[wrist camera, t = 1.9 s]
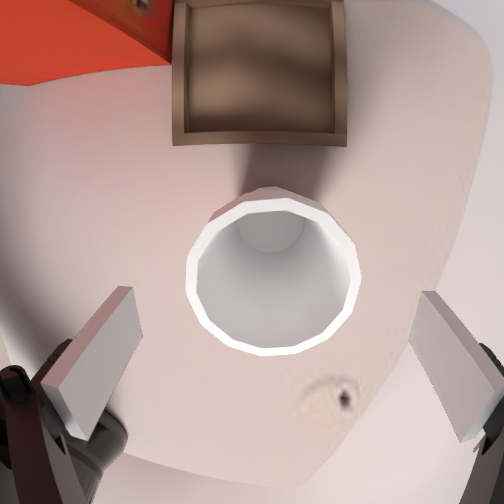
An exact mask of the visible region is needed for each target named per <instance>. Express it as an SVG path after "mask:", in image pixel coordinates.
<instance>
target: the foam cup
mask: <svg viewBox="0 0 504 504" xmlns="http://www.w3.org/2000/svg"><path fill="white" fill-rule="evenodd" d="M361 280H362V278H361V273H360V268H359V263H358V259H357V254H356V249H355V245H354V243H353V241H352V240H351V239H350V237H349V236H348V235H347V233H346V232H345V231H344V229H343V228H342V227H341V226H340V225H339V224H338V223H337V221H336V220H335V219H334V218H333V217H332V216H331V215H330V213H329V212H328V211H327V210H326V209H325V208H324V207H323V206H322V204H321V203H319V202H316V201H314V200H311V199H309V198H306V197H303V196H301V195H298V194H296V193H293V192H290V191H288V190H285V189H282V188H279V187H277V186H271V187H260V188H258V189H256V190H254V191H253V192H250V193H245V194H244V195H242V196H240V197H239V198H237V199H235V200H234V201H232V202H230V203H229V204H227V205H225V206H224V207H222V208H221V209H219V210H217V211H216V212H214V214H213V215H212V217H211V218H210V220H209V221H208V223H207V225H206V226H205V228H204V230H203V231H202V233H201V234H200V236H199V238H198V239H197V241H196V243H195V244H194V246H193V248H192V249H191V251H190V253H189V255H188V256H187V267H186V295H187V297H188V299H189V301H190V303H191V305H192V307H193V309H194V311H195V314H196V316H197V318H198V320H199V322H200V324H201V325H202V326H204V327H205V328H206V329H207V330H208V331H210V332H211V333H212V334H213V335H215V336H216V337H217V338H218V339H220V340H221V341H222V342H223V343H224V344H226V345H227V346H229V347H232V348H236V349H239V350H242V351H245V352H249V353H252V354H256V355H259V356H272V355H286V354H297V353H299V352H301V351H303V350H306V349H308V348H310V347H312V346H314V345H316V344H318V343H320V342H323V341H325V340H327V339H329V337H330V336H331V335H332V334H333V333H334V332H335V331H336V330H337V329H338V328H339V327H340V325H341V324H342V323H343V322H344V321H345V320H346V319H347V318H348V317H349V315H350V314H351V313H352V310H353V307H354V304H355V301H356V297H357V294H358V290H359V287H360V284H361Z"/></svg>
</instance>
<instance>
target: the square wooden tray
mask: <svg viewBox="0 0 504 504" xmlns="http://www.w3.org/2000/svg"><path fill="white" fill-rule="evenodd" d="M172 141H173V146H182V145H202V144H244V143H262V144H304V145H324V146H340V147H347V57H346V35H345V18H344V5H343V0H175V7H174V25H173V51H172Z"/></svg>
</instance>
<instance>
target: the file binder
mask: <svg viewBox="0 0 504 504" xmlns="http://www.w3.org/2000/svg"><path fill="white" fill-rule="evenodd" d="M174 7H175V0H0V84H9V85H22V86H31V85H35V84H39V83H43V82H47V81H52V80H56V79H61V78H66V77H71V76H76V75H82V74H88V73H94V72H101V71H108V70H116V69H124V68H134V67H145V66H159V65H172V51H173V25H174Z"/></svg>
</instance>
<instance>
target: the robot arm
mask: <svg viewBox="0 0 504 504" xmlns="http://www.w3.org/2000/svg"><path fill="white" fill-rule="evenodd" d="M142 337H143V335H142V330H141V326H140V321H139V317H138V312H137V307H136V302H135V297H134V291H133V287H124V286H118V287H117V288H116V289H115V290H114V291H113V293H112V294H111V295H110V296H109V297H108V298H107V299H106V301H105V302H104V303H103V304H102V305H101V307H100V308H99V309H98V310H97V311H96V312H95V314H94V315H93V316H92V317H91V318H90V320H89V321H88V322H87V323H86V325H85V326H84V327H83V328H82V329H81V331H80V332H79V333H78V334H77V336H76V337H75V338H74V339H73V340H72V339H67V340H66V341H64V342H63V343H61V344H60V345H59V346H58V347H57V348H56V349H55V350H54V352H53V353H52V355H50V357H49V358H48V359H47V362H45V363H44V364H43V365H42V367H41V368H40V369H39V371H38V372H37V373H36V374H35V376H34V377H33V378H32V380H31V381H30V379H29V377H28V375H27V373H26V371H25V370H24V368H22V367H21V366H17V365H12V366H8V367H5V368H3V369H2V370H1V371H0V504H92V502H93V499H94V496H95V494H96V491H97V489H98V486H99V483H100V480H101V478H102V475H103V473H104V471H105V470H106V469H107V468H108V467H109V466H110V465H111V464H112V463H113V462H114V461H115V460H116V459H117V458H118V457H119V456H120V454H121V453H122V452H123V451H124V448H125V446H126V443H127V434H126V432H125V430H124V429H123V427H122V426H121V425H120V424H119V422H118V421H117V420H116V419H115V418H114V417H112V416H111V415H110V414H109V413H108V412H106V411H105V410H104V408H105V406H106V404H107V402H108V400H109V398H110V396H111V394H112V392H113V391H114V389H115V387H116V385H117V383H118V381H119V379H120V377H121V375H122V374H123V372H124V370H125V368H126V366H127V364H128V362H129V361H130V359H131V357H132V355H133V353H134V351H135V350H136V348H137V346H138V344H139V342H140V341H141V339H142ZM408 340H409V342H410V344H411V346H412V347H413V349H414V351H415V353H416V355H417V357H418V359H419V360H420V362H421V364H422V366H423V368H424V370H425V372H426V374H427V375H428V377H429V379H430V381H431V383H432V385H433V387H434V389H435V391H436V393H437V395H438V397H439V399H440V401H441V403H442V405H443V407H444V409H445V411H446V414H447V416H448V418H449V420H450V422H451V424H452V426H453V428H454V431H455V433H456V435H457V437H458V440H459V442H460V443H461V442H464V441H467V440H470V439H473V438H475V437H476V436H477V435H478V433H479V432H480V431H481V429H482V428H483V429H484V431H485V433H486V434H485V435H484V437H483V438H482V439H481V440H480V442H479V443H478V444H477V446H476V447H475V448H474V450H473V452H475V451H476V450H477V449H478V448H479V451H478V454H477V457H476V460H475V463H474V466H473V469H472V472H471V475H470V478H469V480H468V483H467V486H466V488H465V491H464V493H463V496H462V498H461V500H460V503H459V504H504V367H503V366H502V365H501V363H500V361H499V360H498V359H497V358H496V356H495V355H494V353H493V352H492V351H491V350H490V349H489V348H488V347H486V346H485V345H484V344H482V343H478V342H477V341H476V339H475V338H474V337H473V336H472V334H471V333H470V332H469V331H468V329H467V328H466V327H465V326H464V324H463V323H462V322H461V321H460V320H459V318H458V317H457V316H456V315H455V314H454V313H453V311H452V310H451V309H450V308H449V306H448V305H447V304H446V303H445V302H444V301H443V299H442V298H441V297H440V296H439V295H438V294H437V293H436V291H422V292H421V296H420V300H419V304H418V308H417V312H416V315H415V319H414V322H413V326H412V329H411V332H410V336H409V339H408Z"/></svg>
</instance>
